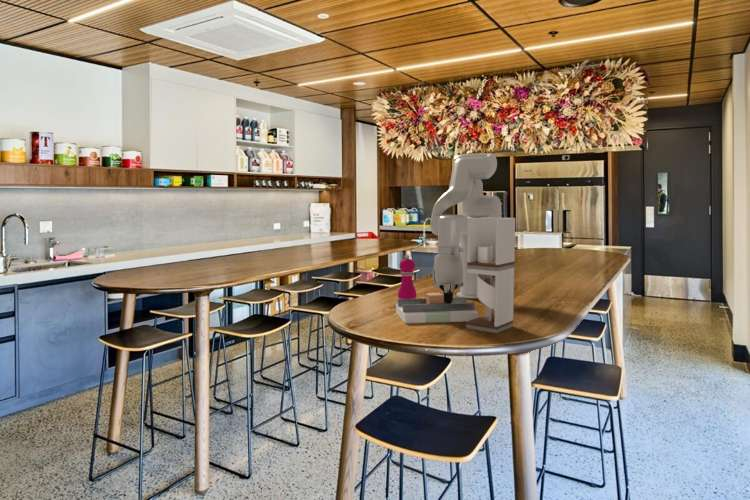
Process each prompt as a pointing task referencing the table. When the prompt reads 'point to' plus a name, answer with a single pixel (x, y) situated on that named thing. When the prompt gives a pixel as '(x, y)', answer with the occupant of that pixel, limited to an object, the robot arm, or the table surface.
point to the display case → (492, 270)
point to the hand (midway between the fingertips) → (448, 303)
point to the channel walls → (435, 305)
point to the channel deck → (436, 316)
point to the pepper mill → (407, 279)
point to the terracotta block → (434, 298)
